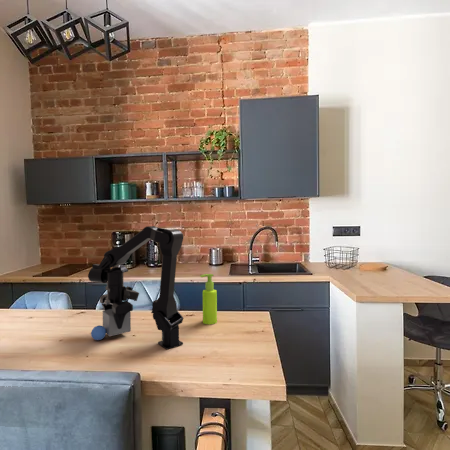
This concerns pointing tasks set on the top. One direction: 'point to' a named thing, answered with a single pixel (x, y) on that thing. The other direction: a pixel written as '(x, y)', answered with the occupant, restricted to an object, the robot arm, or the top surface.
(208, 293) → the soap dispenser
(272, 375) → the top surface
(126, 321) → the gray rectangular platform
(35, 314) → the top surface
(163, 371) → the top surface
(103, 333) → the ball
